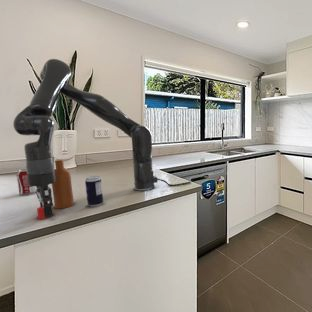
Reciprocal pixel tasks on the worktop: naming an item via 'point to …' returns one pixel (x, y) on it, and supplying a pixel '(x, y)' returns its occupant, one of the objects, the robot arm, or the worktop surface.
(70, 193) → the sauce bottle
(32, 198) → the worktop surface
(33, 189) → the red food package
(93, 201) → the beverage can
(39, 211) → the cap
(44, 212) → the robot arm
